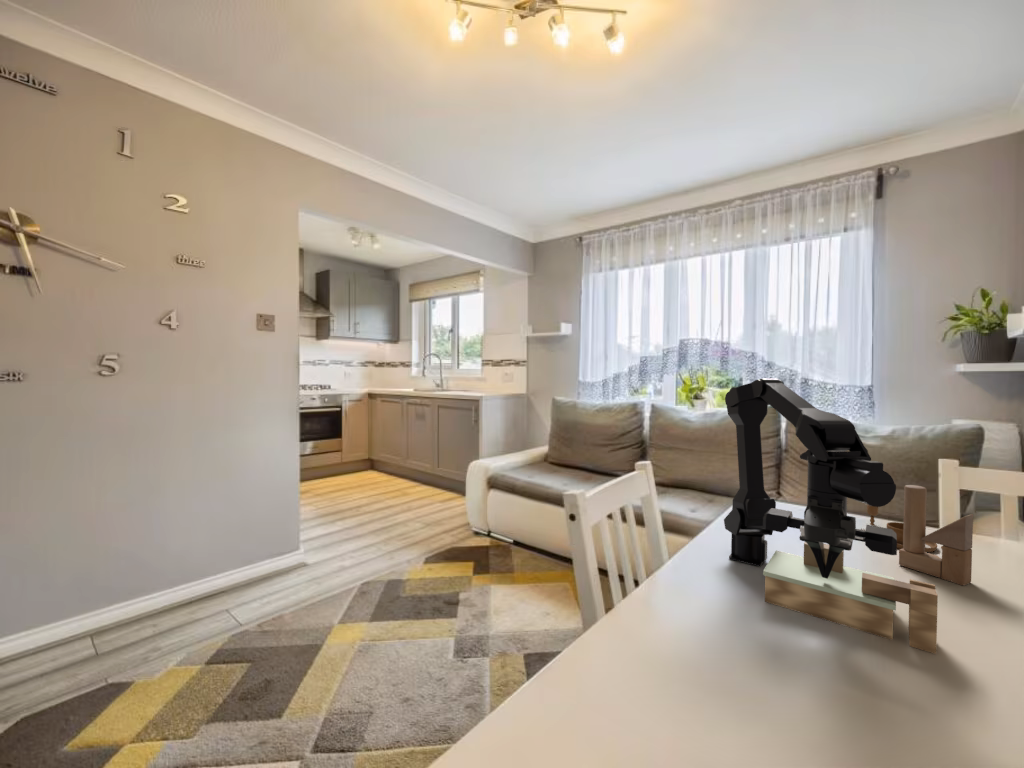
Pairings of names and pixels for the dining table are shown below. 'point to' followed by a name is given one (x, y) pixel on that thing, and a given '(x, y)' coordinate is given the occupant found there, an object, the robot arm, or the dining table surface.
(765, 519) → the robot arm
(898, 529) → the place setting
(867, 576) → the wooden plank
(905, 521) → the wooden block structure
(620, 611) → the dining table surface
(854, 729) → the dining table surface
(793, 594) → the tan wooden box
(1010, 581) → the dining table surface
